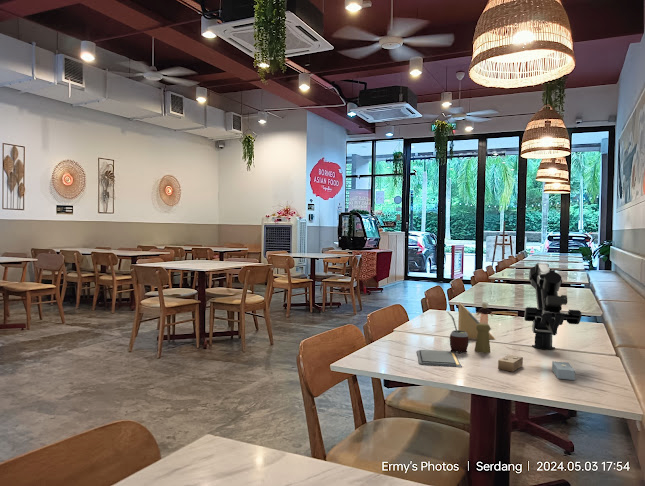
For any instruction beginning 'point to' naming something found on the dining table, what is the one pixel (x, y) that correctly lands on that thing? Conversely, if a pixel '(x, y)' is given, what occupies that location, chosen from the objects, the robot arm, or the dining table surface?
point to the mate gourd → (458, 340)
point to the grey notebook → (437, 358)
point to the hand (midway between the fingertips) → (554, 334)
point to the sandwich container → (468, 323)
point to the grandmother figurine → (484, 313)
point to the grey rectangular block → (563, 370)
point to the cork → (482, 338)
